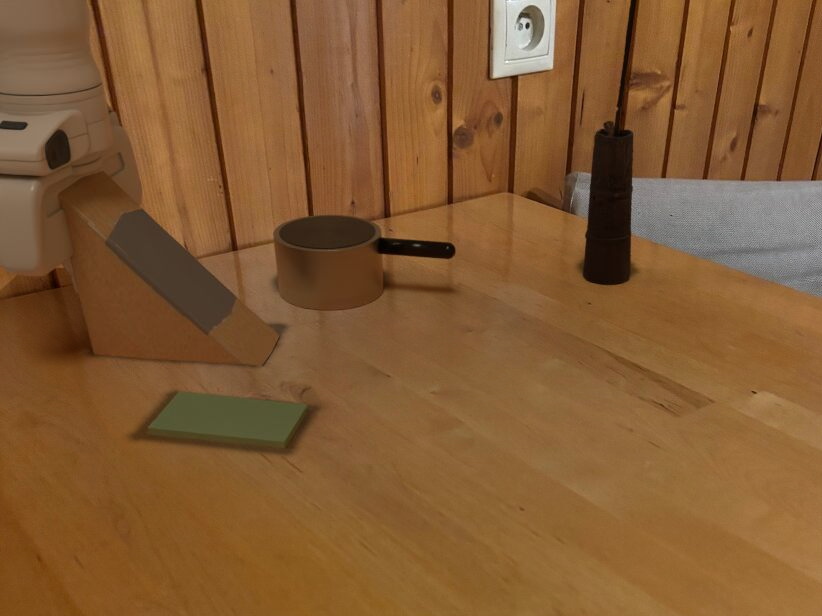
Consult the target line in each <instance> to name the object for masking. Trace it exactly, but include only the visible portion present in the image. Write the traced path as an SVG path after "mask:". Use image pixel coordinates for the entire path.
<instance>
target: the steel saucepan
mask: <svg viewBox="0 0 822 616" xmlns="http://www.w3.org/2000/svg"><path fill="white" fill-rule="evenodd" d="M382 233H383V232H382V229H381V227H380V225H378V224H377V223H375V222H374V221H371V220H369V219H366V218H362V217H358V216H352V215H346V214H345V215H344V214H318V215H317V214H316V215H308V216H302V217H298V218H293V219H290V220H287V221H285V222H282V223H281V224H279V225H278V226H277V227H275V228H274V230H273V233H272V237H273V245H274V246H273V247H274V256H275V264H276V265H275V267H276V274H277V284H278V293H279V296H280V297H281V298H282V300H284V301H285V302H287V303H289V304H290V305H294V306H296V307H300V308H303V309H309V310H317V311H337V310H338V311H339V310H346V309H354V308H358V307H361V306H364V305H367V304H369V303H371V302H372V303H373V302H374V301H375V300H377V299H379V298H380V297H381V295H382V294H383V292H384V264H383V255H386V256H401V257H413V258H426V259H428V258H429V259H439V260H440V259H441V260H450V259H452V258H454V257H455V256H456V253H457V250H456V246H455V245H454V244H453V243H452V242H449V241H437V240H436V241H435V240H421V239H411V238H410V239H407V238H395V237H383V236H382V235H383V234H382Z"/></svg>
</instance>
